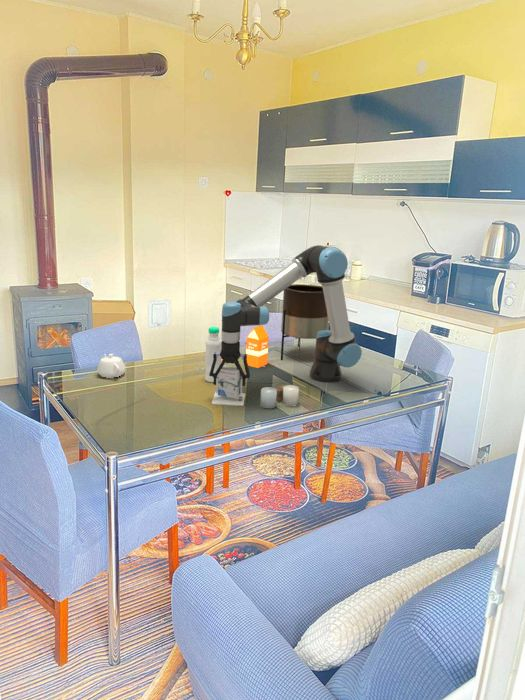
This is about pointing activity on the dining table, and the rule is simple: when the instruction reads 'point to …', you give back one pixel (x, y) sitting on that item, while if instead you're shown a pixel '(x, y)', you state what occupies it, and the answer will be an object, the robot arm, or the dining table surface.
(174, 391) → the dining table surface
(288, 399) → the cream rounded-top cylinder
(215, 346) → the water bottle
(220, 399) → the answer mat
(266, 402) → the domed pale cylinder
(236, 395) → the ink box
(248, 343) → the orange juice
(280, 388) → the walnut block
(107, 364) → the teapot
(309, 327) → the planter
